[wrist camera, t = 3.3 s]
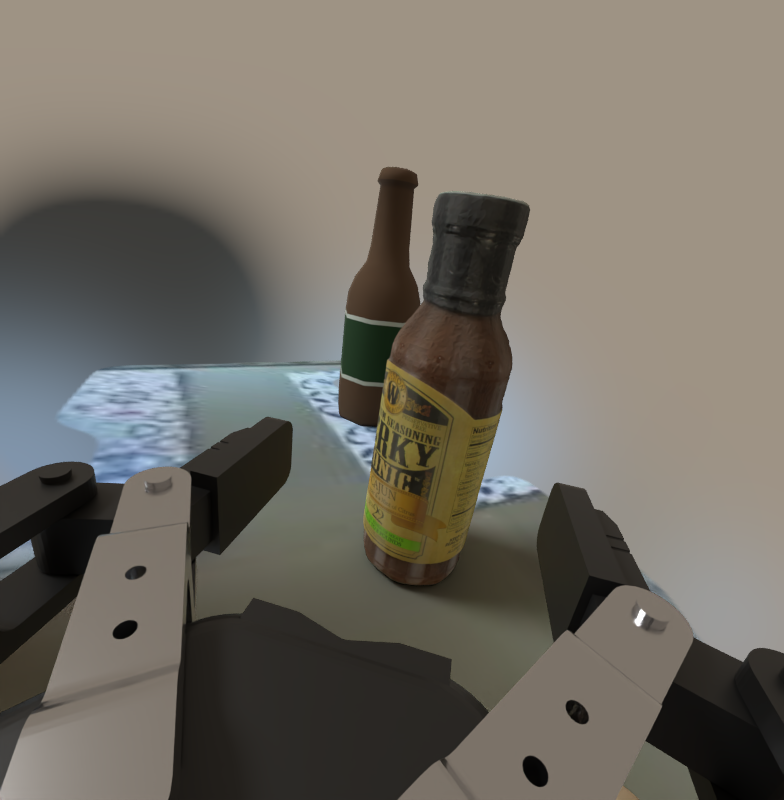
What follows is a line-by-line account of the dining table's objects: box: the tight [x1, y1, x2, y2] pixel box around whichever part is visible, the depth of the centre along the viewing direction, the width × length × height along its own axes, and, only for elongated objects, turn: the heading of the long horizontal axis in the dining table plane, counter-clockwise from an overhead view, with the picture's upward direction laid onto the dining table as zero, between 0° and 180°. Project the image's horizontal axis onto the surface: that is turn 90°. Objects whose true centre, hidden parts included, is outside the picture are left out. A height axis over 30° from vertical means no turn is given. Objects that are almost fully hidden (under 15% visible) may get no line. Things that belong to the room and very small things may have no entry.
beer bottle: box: [338, 167, 420, 426], centre depth 39 cm, size 8×8×24 cm
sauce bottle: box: [363, 191, 530, 585], centre depth 21 cm, size 6×6×20 cm
